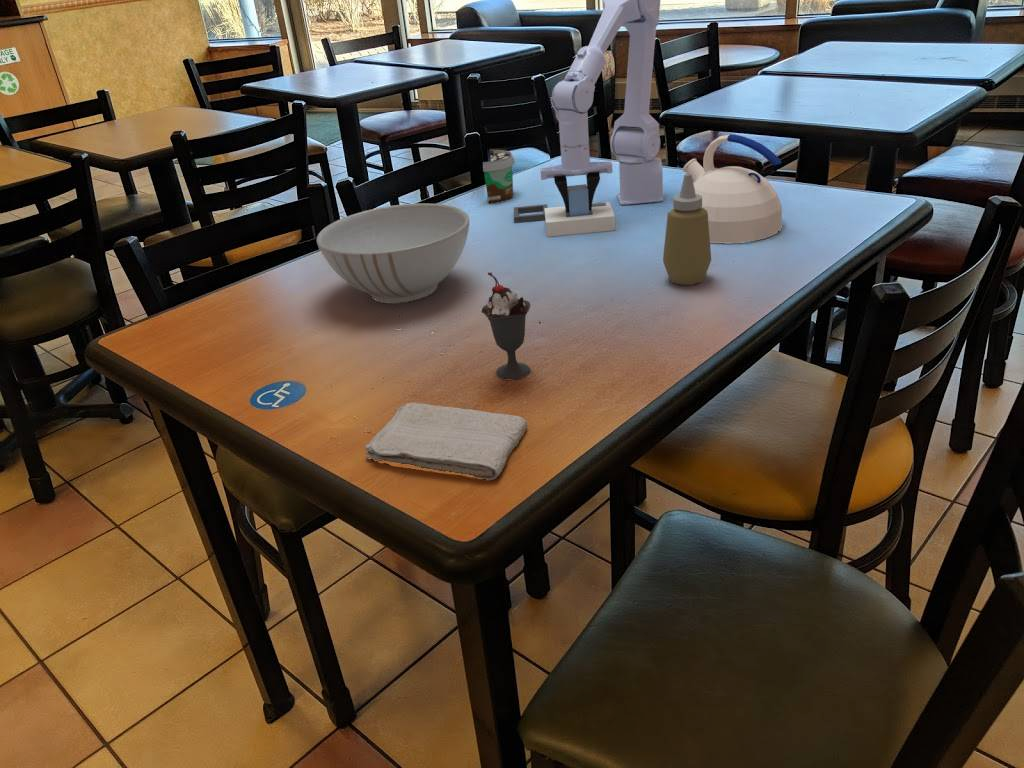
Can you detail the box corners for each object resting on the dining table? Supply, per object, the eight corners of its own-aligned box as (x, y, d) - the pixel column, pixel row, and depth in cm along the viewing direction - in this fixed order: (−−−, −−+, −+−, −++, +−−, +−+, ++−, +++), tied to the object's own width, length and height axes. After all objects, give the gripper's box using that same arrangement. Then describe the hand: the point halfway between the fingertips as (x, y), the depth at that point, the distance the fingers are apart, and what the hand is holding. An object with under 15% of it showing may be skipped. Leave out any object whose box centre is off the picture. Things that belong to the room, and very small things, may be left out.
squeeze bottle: (713, 271, 136) (716, 168, 128) (707, 289, 130) (710, 181, 121) (666, 269, 139) (666, 168, 130) (659, 287, 133) (658, 182, 124)
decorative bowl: (356, 335, 128) (341, 266, 122) (314, 287, 149) (299, 225, 143) (502, 293, 137) (494, 226, 131) (442, 253, 159) (434, 194, 153)
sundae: (488, 364, 114) (476, 267, 107) (533, 358, 115) (524, 261, 107) (491, 386, 109) (478, 285, 101) (539, 379, 109) (529, 279, 101)
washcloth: (404, 415, 105) (401, 396, 103) (531, 429, 99) (529, 408, 97) (361, 467, 95) (356, 446, 94) (499, 486, 89) (496, 463, 88)
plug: (587, 217, 166) (586, 184, 163) (589, 222, 163) (588, 189, 159) (568, 218, 166) (567, 186, 163) (570, 224, 163) (568, 191, 159)
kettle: (711, 206, 168) (714, 119, 160) (802, 220, 155) (810, 127, 146) (654, 233, 157) (654, 141, 148) (747, 252, 143) (752, 152, 134)
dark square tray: (547, 209, 177) (547, 204, 177) (548, 219, 171) (548, 214, 170) (514, 212, 178) (513, 207, 177) (514, 222, 171) (513, 217, 170)
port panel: (610, 215, 169) (609, 201, 167) (615, 230, 160) (614, 215, 159) (545, 221, 170) (544, 207, 168) (547, 236, 161) (545, 221, 159)
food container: (512, 204, 183) (508, 161, 178) (487, 205, 185) (482, 162, 180) (522, 189, 194) (518, 148, 189) (498, 190, 195) (493, 149, 190)
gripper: (539, 152, 153) (544, 219, 160) (613, 144, 153) (615, 212, 159) (538, 144, 160) (543, 209, 166) (609, 137, 159) (611, 202, 166)
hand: (578, 210), depth 163 cm, fingers closed on plug, 4 cm apart
